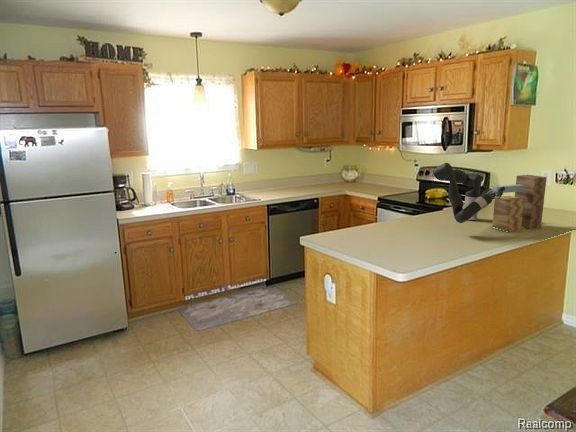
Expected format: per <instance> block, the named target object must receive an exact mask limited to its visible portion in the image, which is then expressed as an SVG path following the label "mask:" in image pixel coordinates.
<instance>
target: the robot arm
mask: <svg viewBox="0 0 576 432" xmlns="http://www.w3.org/2000/svg"><path fill="white" fill-rule="evenodd" d="M432 173H433V176H434V178H435V179H436V180H438V181H442V182H443V181H444V182H449V187H448V196H447V197H448V200H449V202H450V205H451V207H452V213H453V218H454V220H455V221H456V222H457V223H459V224H463V223H465V222H467V221H469V220H476V221H478V219H479V218H478V216H479V212H480V211H481V210H483V209H485V208H486V207H487V206H489V205H490V204H491V203H492V202H493V200H495V198H498V199H500V197H502V196H503V195H504V193H503V191H504V190H505V187H502V188H500V189H499V190H498V191H494V192H492V187H491V188H488V189H486V190H483V191H482V192H481V187H482V180H483V179H482V175H481V174H477V173H476V174H475V173H466V172H465V171H464V170H462V169H457V168H453V166H452V165H451V164H450V163H449V162H444V163H443V164H440V165H438V166H436V167H435V168H433V171H432ZM458 184H459V185H460V184H461V185H464V186H466V187H470V188H472V189H471V190H469V191H466V192H465V195H464V196H465V197H464V201H463V199H462V196H461V194H460V192H459V187H458ZM496 186H499V185H496ZM498 192H499V193H498Z"/></svg>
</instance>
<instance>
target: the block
mask: <svg viewBox="0 0 576 432" xmlns="http://www.w3.org/2000/svg"><path fill="white" fill-rule="evenodd" d="M523 206H524V199H523V198H518V197H515V196H512V195H504V196H503V195H502V196H501V197H500V199H498V198H495V199H494V203H493V213H492V214H493V215H492V225H491V226H492V227H495V228H498V229H501V230H504V231H512V232H517V231H516V230H519V231H522V228H521V225H522V216H523ZM501 230H500V231H501ZM504 231H503V232H504Z"/></svg>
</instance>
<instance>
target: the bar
mask: <svg viewBox="0 0 576 432" xmlns="http://www.w3.org/2000/svg"><path fill="white" fill-rule="evenodd" d="M502 187H505V190H504V191H503V194H504V193H506V194H507V193H515V192H520V191H523V190H524V185H520V184H516V183H515V184H508V185H507V184H505V185H498V186H497V185H494V186H492V187H491V189H492V192H494V191H498V190H499V189H500V188H502ZM498 193H499V192H498Z"/></svg>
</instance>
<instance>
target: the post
mask: <svg viewBox="0 0 576 432" xmlns="http://www.w3.org/2000/svg"><path fill="white" fill-rule="evenodd" d="M515 178H516V180H515V185H516V184H520V185H524V190H523V191H520V192H514V197H518V198H523V199H524V206H523V216H522V225H521V227H523V228H522V229H525V228H526V229H525V230H529V229H531V230H537V229H536V228H538V229H542V221H543V213H544V204H545V203H544V202H545V193H546V187H547V186H546V185H547V176H542V175H541V176H539V175H535V174H534V175H533V174H521V175H516V177H515Z"/></svg>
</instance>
